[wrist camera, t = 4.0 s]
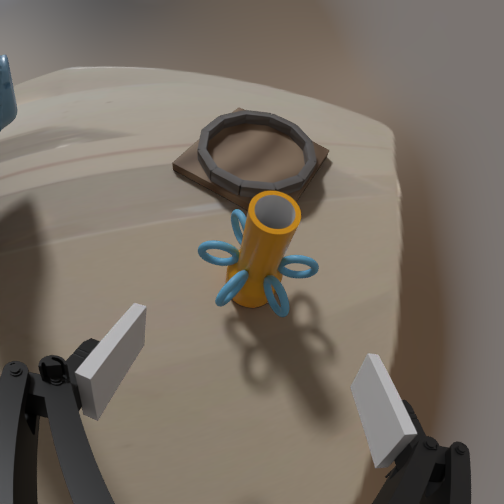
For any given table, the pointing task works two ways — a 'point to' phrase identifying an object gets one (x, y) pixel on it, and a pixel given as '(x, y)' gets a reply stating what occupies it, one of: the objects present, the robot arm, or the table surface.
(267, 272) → the cylinder
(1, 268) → the table surface
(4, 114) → the robot arm
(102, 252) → the table surface
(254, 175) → the hub board
